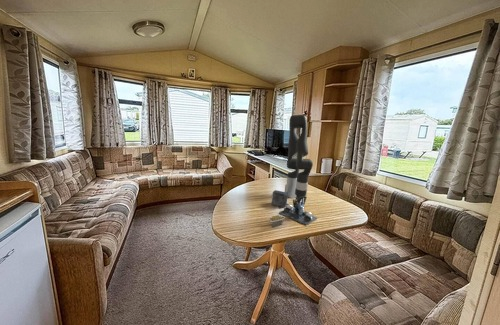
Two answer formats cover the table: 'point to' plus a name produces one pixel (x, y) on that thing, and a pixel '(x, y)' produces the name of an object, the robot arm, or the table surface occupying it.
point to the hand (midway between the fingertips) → (298, 211)
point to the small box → (279, 198)
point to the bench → (302, 218)
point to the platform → (276, 220)
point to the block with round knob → (300, 209)
